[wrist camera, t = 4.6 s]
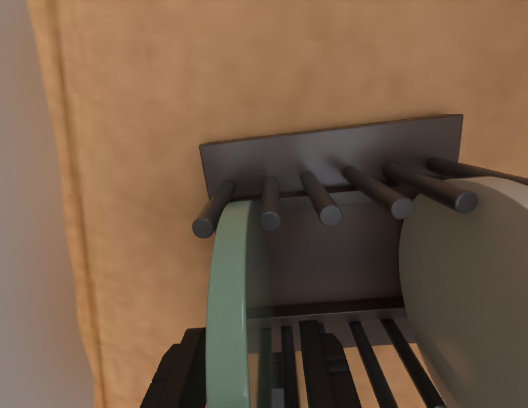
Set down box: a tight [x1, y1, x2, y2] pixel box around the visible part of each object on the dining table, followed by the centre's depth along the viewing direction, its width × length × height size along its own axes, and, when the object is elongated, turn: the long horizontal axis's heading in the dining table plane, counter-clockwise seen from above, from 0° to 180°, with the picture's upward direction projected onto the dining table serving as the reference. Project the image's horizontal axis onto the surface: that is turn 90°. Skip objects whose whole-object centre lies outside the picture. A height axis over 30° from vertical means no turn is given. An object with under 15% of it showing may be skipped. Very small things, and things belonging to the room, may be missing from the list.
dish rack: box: [192, 114, 528, 408], centre depth 14 cm, size 15×14×8 cm
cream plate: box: [399, 176, 528, 408], centre depth 11 cm, size 11×1×11 cm, turn 7°
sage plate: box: [205, 200, 279, 408], centre depth 11 cm, size 11×1×11 cm, turn 7°
